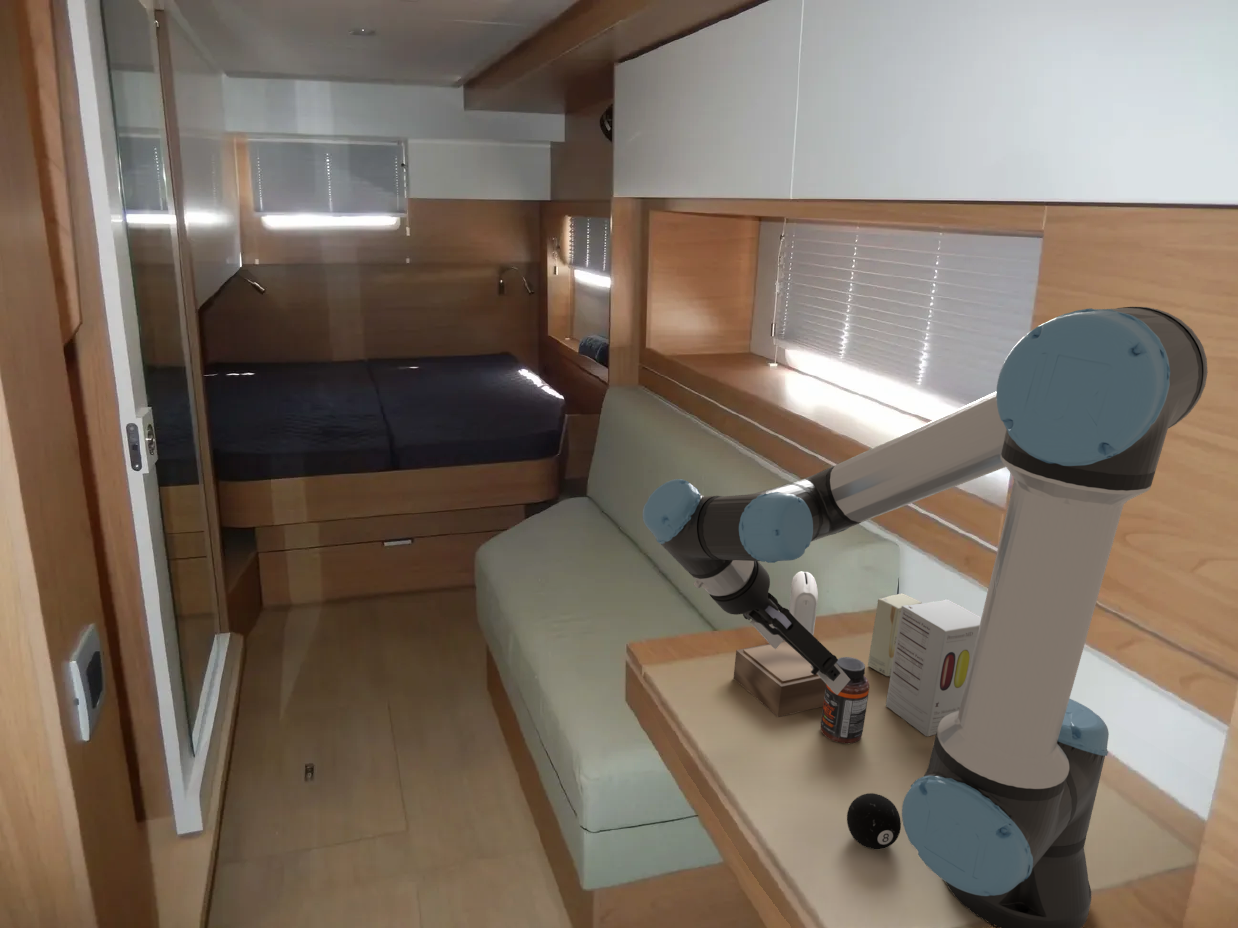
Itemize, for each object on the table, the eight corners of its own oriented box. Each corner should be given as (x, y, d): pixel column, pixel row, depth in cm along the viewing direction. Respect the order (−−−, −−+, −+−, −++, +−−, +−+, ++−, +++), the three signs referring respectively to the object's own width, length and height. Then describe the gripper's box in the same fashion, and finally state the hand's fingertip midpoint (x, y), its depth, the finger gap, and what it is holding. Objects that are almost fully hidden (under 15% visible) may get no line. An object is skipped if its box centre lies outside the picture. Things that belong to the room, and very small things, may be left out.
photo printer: (812, 657, 150) (821, 589, 147) (786, 654, 151) (794, 586, 148) (809, 630, 160) (817, 566, 157) (785, 627, 161) (792, 564, 157)
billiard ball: (858, 862, 102) (865, 817, 101) (836, 827, 108) (842, 785, 106) (906, 857, 103) (913, 813, 102) (881, 823, 109) (888, 781, 107)
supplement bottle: (811, 725, 130) (820, 654, 127) (847, 720, 132) (857, 650, 129) (833, 748, 124) (843, 675, 121) (870, 742, 126) (881, 670, 123)
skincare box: (886, 677, 145) (897, 608, 142) (866, 666, 148) (876, 598, 145) (912, 668, 148) (923, 601, 145) (892, 657, 152) (902, 591, 148)
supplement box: (926, 738, 128) (944, 631, 124) (883, 706, 136) (898, 604, 132) (976, 726, 132) (995, 622, 127) (931, 695, 140) (948, 596, 136)
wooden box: (842, 701, 137) (846, 670, 135) (777, 716, 131) (781, 684, 130) (794, 665, 147) (798, 636, 146) (733, 678, 142) (736, 648, 140)
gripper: (662, 560, 123) (741, 643, 134) (769, 639, 102) (852, 729, 112) (698, 521, 124) (773, 606, 135) (811, 590, 103) (890, 685, 113)
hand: (809, 662), depth 124 cm, fingers open, 13 cm apart
